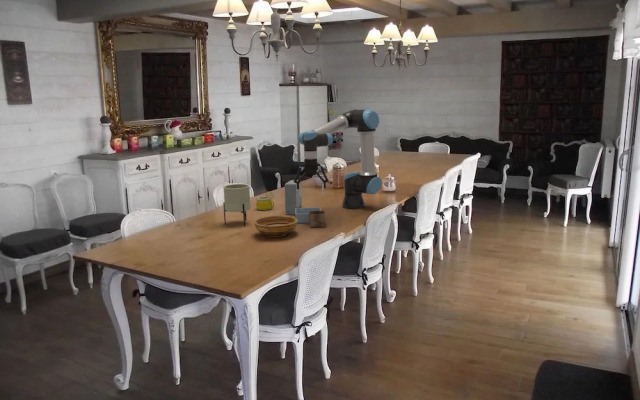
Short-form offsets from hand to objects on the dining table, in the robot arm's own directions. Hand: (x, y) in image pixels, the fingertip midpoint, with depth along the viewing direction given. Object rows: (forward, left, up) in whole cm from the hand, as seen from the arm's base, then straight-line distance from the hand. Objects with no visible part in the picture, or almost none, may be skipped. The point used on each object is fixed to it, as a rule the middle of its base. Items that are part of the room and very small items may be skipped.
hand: (311, 194), depth 313 cm
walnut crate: (-3, +3, -18) cm, 19 cm away
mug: (+30, -45, -18) cm, 57 cm away
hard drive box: (+11, -34, -18) cm, 40 cm away
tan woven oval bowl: (+20, +19, -18) cm, 33 cm away
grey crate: (+2, -11, -18) cm, 21 cm away
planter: (+44, -9, -18) cm, 49 cm away
